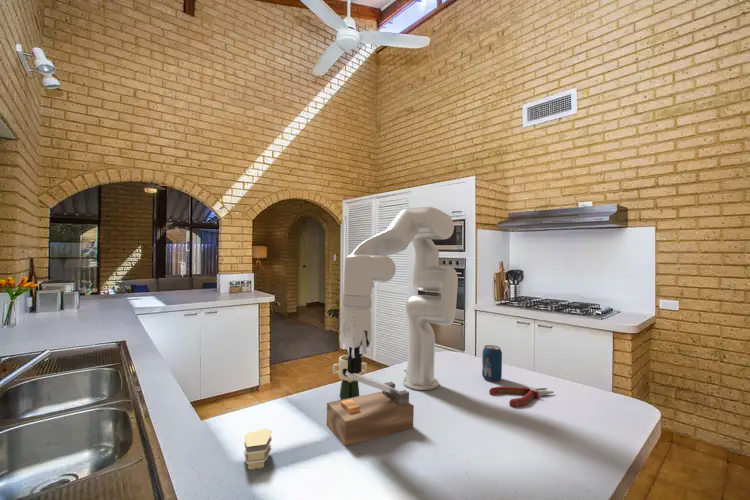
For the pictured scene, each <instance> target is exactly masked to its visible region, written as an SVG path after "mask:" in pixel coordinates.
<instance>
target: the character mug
mask: <svg viewBox="0 0 750 500" xmlns="http://www.w3.org/2000/svg"><path fill="white" fill-rule="evenodd" d="M348 357H350V356H348V355H347V354H344V355H341V356H339V357H338V358H339V359H338V363H334V364H333V365H332V374H333V375H338V376H339V378H340V380H342V381H341V384H340V390H339V398H340V400H343V399H348V398H353V397H358V396H360V388H359V387H360V386H359V382H358V381H355V380H353V379H351V378H349V377H348V376H347V375H345V373H346V371H347V369H348ZM337 367H338V370H337ZM361 367H363V369H361V372H360V373H356V374H359V375H362V374H367V371H368V363H367V362H361Z"/></svg>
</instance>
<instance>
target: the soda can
mask: <svg viewBox="0 0 750 500" xmlns="http://www.w3.org/2000/svg"><path fill="white" fill-rule="evenodd" d="M483 347H484V348H483V349H482V358H481V359H482V360H481V362H482V365H481V366H482V367H481V368H482V369H481V375H482V377H483V379H484V380H485V381H487V382H491V383H497V382H498V383H499V382H500V380H501V379H502V376H503V374H502V373H503V371H502V370H503V367H502V366H503V365H502V363H503V352H502V350H501V347H500V346H498V345H492V344H488V345H484V346H483Z"/></svg>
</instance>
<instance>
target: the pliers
mask: <svg viewBox="0 0 750 500" xmlns="http://www.w3.org/2000/svg"><path fill="white" fill-rule="evenodd" d="M547 389H548V387H534V388H530V387H528V386H525V385H524V387H515V386H514V387H513V386H495V387H490V389H489V391H488V392H489V395H491V396H493V395H499V394H500V395H501V394H504V395H505V394H506V395H507V394H508V395H520V396H522V397H517V398H516V397H515V398H512V399H510V400H509V407H511V408H518V407H524V406H526V405H527V404H529V403H530V402H531V401H533V399H535V400H539V397H542V396H547V395H550V394H553V393H554V391H553V390H547Z"/></svg>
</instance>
